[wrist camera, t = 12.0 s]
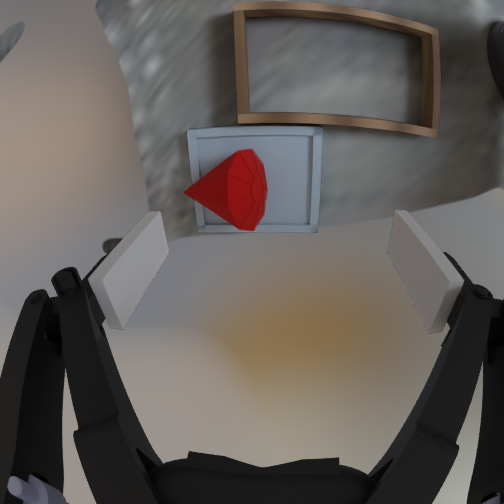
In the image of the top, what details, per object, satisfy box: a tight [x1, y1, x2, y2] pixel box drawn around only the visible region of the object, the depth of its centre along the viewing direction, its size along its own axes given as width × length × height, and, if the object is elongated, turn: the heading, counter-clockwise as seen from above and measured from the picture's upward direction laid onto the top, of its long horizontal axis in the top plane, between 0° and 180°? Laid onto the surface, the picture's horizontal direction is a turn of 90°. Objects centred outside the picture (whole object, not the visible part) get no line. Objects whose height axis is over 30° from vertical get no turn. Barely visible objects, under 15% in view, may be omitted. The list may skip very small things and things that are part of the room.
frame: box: [233, 1, 441, 138], centre depth 24 cm, size 23×14×3 cm, turn 92°
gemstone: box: [183, 149, 268, 231], centre depth 31 cm, size 9×9×10 cm
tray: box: [187, 125, 322, 233], centre depth 33 cm, size 15×13×2 cm
